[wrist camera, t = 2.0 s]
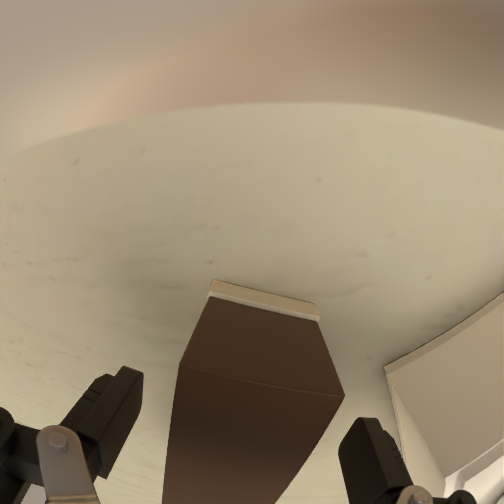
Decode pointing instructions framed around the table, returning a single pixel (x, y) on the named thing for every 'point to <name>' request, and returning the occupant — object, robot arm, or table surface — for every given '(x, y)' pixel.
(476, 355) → the white lidded box
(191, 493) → the brown block cream base
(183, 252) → the table surface
